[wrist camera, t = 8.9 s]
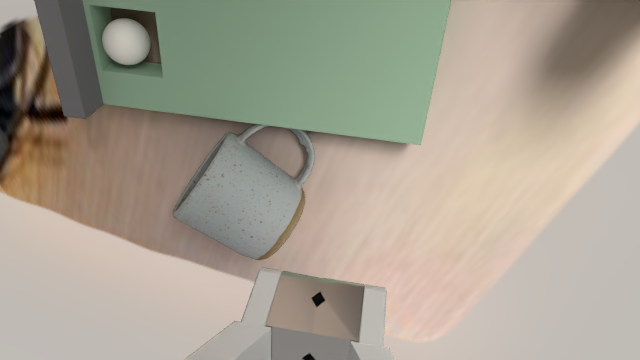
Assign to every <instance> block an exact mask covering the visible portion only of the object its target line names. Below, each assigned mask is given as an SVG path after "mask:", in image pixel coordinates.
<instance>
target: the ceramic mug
mask: <svg viewBox="0 0 640 360" xmlns="http://www.w3.org/2000/svg"><path fill="white" fill-rule="evenodd" d="M268 126H269V125H261V124H253V125H252V126H251V127H249V128H248V129H247V130H245V131H244V132H243V133H242V134H241V135H240V136H237V135H235V134H234V133H232V132H228V133H227V134H226V135H224V136H223V137H222V139H221V140H220V141H219V143H218V144H217V145H216V146H215V147H214V149H213V150H212V151H211V153H210V154H209V155H208V156H207V158H206V159H205V161H204V162H203V164H202V165H201V166H200V168H199V169H198V170H197V172H196V174H195V175H194V176H193V178H192V179H191V181H190V183H189V184H188V186H187V187H186V189H185V191H184V193H183V194H182V196H181V197H180V199H179V201H178V203H177V205H176V206H175V209H174V210H173V216H174V217H175V218H176V219H178V220H180V221H181V222H183V223H185V224H187V225H189V226H191V227H193V228H195V229H196V230H198V231H200V232H202V233H204V234H205V235H207V236H209V237H211V238H212V239H214V240H216V241H218V242H220V243H222V244H224V245H225V246H227V247H229V248H230V249H232V250H234V251H236V252H238V253H240V254H241V255H244V256H247V257H250V258H253V259H256V260H262V259H266V258H268V257H270V256H271V255H273V254H274V253H275V252H276V251H277V250H278V249H279V248H280V247H281V246H282V245H283V244H284V242H285V241H286V240H287V238H288V237H289V236H290V234H291V233H292V231H293V229H294V228H295V226H296V225H297V223H298V221H299V219H300V217H301V214H302V212H303V209H304V205H305V194H304V191H303V189H302V187H301V185H302V184H303V183H304V182H305V180H306V179H307V178H308V176H309V174H310V172H311V170H312V167H313V164H314V155H315V153H314V147H313V144H312V141H311V139H310V137H309V136H308V134H307V133H306V131H305V130H300V129H292V128H289V129H290V130H291V131H292V132H293V133H294V134H295V135H296V136H297V137H298V138H299V140H300V144H302V145H303V146H305V148H306V150H307V152H308V154H307V161H306V163H305V166H304V168H303V170H302V172H301V173H300V175H299V176H298V177H297V178H296V179H293V178H292V177H291V176H290V175H288V174H287V173H286V172H285V171H283V170H281V169H280V168H278V167H277V166H275V165H274V164H273V163H271V162H270V161H269V160H268V159H267V158H265V157H264V156H263V155H262V154H260V153H259V152H258V151H257V150H255V149H254V148H253V147H252V146H250V145H249V144H248V143H247V142H245V141H246V139H247V138H248V137H249V136H251V135H253V134H254V133H255V132H257V131H259V130H260V129H262V128H265V127H268Z"/></svg>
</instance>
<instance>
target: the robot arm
mask: <svg viewBox="0 0 640 360" xmlns="http://www.w3.org/2000/svg"><path fill="white" fill-rule="evenodd" d="M386 295H387V291H386V288H384V287H378V286H371V285H364V284H360V283H353V282H347V281H340V280H334V279H327V278H318V277H313V276H308V275H302V274H297V273H292V272H287V271H280V270H274V269H269V268H264V267H262V268H261V270H260V271H259V273H258V275H257V278H256V281H255V284H254V286H253V289H252V292H251V295H250V298H249V301H248V303H247V306H246V309H245V312H244V315H243V317H242V320H241V322H238V321H234V322H233V323H232V324H230V325H229V326H228V327H226V328H225V329H224V330H222V331H221V332H220V333H218V334H217V335H216V336H215V337H213V338H212V339H211V340H209V341H208V342H207V343H205V344H204V345H203V346H201V347H200V348H199V349H197V350H196V351H195V352H193V353H192V354H191V355H189V356H188V357H187V358H185V359H184V360H396V358H395V356H394V355H393V353H392V351H391V350H390V348H386V347H383V345H384V328H385V312H386Z"/></svg>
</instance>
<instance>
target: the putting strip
mask: <svg viewBox="0 0 640 360" xmlns="http://www.w3.org/2000/svg"><path fill="white" fill-rule="evenodd" d="M34 1H35V5H36V9H37V13H38V17H39V20H40V24H41V28H42V32H43V36H44V40H45V44H46V48H47V51H48V55H49V59H50V63H51V67H52V71H53V75H54V79H55V82H56V86H57V90H58V94H59V98H60V102H61V106H62V110H63V113H64V116H66V117H74V118H82V119H86V118H87V117H89V116H90V115H91V114H92V113H93V112H95V111H96V110H97V109H98V108H100V107H101V106H102V105H103V104H106V105H114V106H122V107H129V108H137V109H145V110H153V111H160V112H168V113H176V114H184V115H191V116H199V117H207V118H214V119H222V120H230V121H238V122H245V123H253V124H261V125H269V126H276V127H284V128H292V129H300V130H307V131H315V132H323V133H330V134H338V135H346V136H354V137H361V138H369V139H377V140H385V141H392V142H400V143H408V144H416V145H421V141H422V137H423V132H424V127H425V122H426V118H427V113H428V108H429V103H430V99H431V94H432V89H433V84H434V79H435V75H436V70H437V65H438V60H439V56H440V51H441V46H442V41H443V36H444V32H445V27H446V22H447V17H448V13H449V8H450V3H451V0H34ZM110 7H112V8H121V9H130V10H139V11H148V12H155V16H156V24H157V32H158V40H159V48H160V56H161V64H159V63H151V62H143V61H141V62H140V63H138V64H134V65H123V64H120V63H118V62H116V61H114V60H113V59H111V58H110V57H109V56H108V55H107V53H106V52H105V50H104V47H103V44H102V35H103V32H104V29H105V28H106V26H107V25H108V24H109V23H110V22H112V17H111V11H110Z"/></svg>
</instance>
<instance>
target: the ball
mask: <svg viewBox="0 0 640 360" xmlns="http://www.w3.org/2000/svg"><path fill="white" fill-rule="evenodd" d="M102 44H103V47H104V50H105V52H106V53H107V55H108V56H109V57H110V58H111V59H113V60H114V61H116V62H118V63H120V64H123V65H134V64H138V63H140V62H141V61H143V60H144V59H145V58H146V57H147V55H148V53H149V51H150V47H151V41H150V37H149V34H148V32H147V30H146V29H145V28H144V27H143V26H142V25H141V24H140V23H138V22H137V21H135V20H132V19H128V18H120V19H116V20H114V21H112V22H110V23H109V24H108V25H107V26H106V28H105V29H104V32H103V35H102Z"/></svg>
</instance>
